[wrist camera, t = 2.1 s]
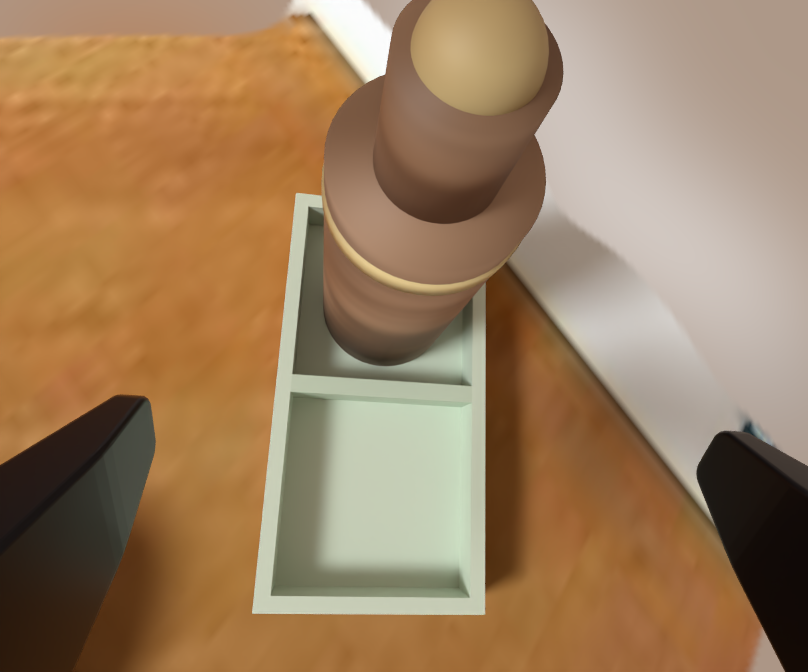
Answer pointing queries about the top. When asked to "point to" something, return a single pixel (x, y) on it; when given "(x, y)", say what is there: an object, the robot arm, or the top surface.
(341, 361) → the caddy
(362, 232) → the pepper mill
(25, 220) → the top surface
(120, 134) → the top surface
